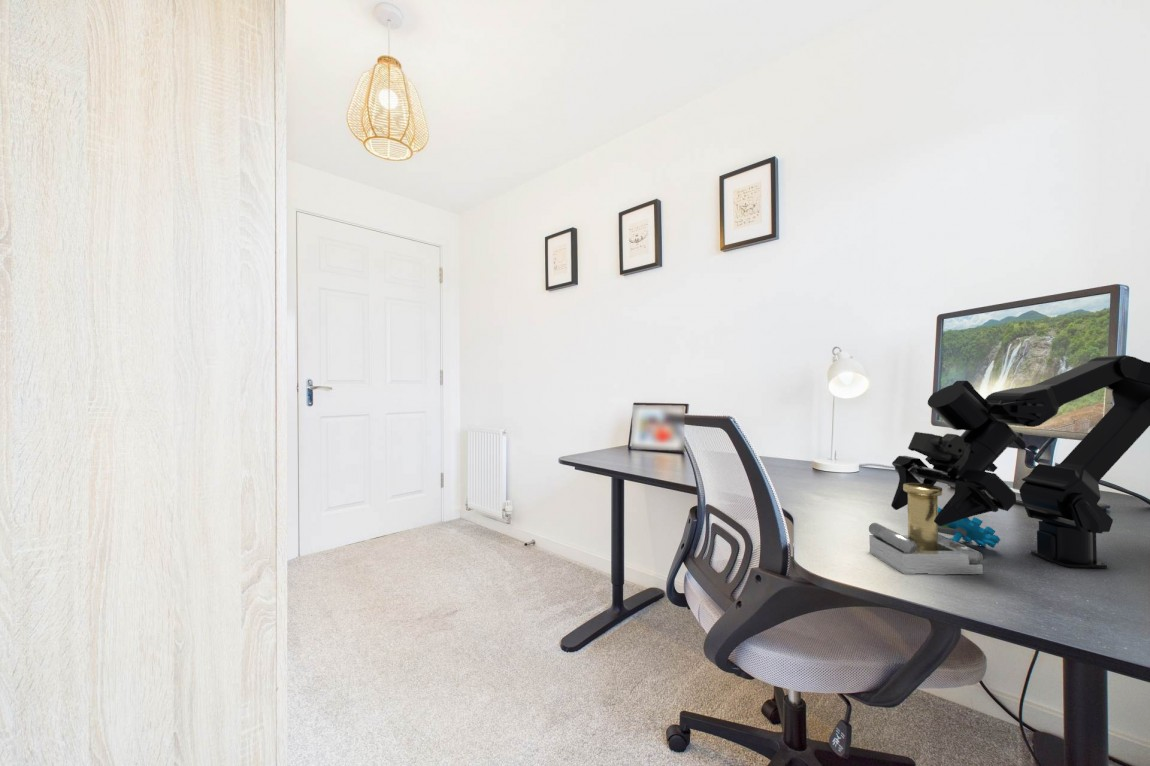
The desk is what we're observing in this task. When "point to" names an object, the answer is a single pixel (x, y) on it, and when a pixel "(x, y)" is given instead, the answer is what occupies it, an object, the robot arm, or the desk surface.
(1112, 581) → the desk surface
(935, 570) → the metal roller frame
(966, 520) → the gear
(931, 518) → the pin
